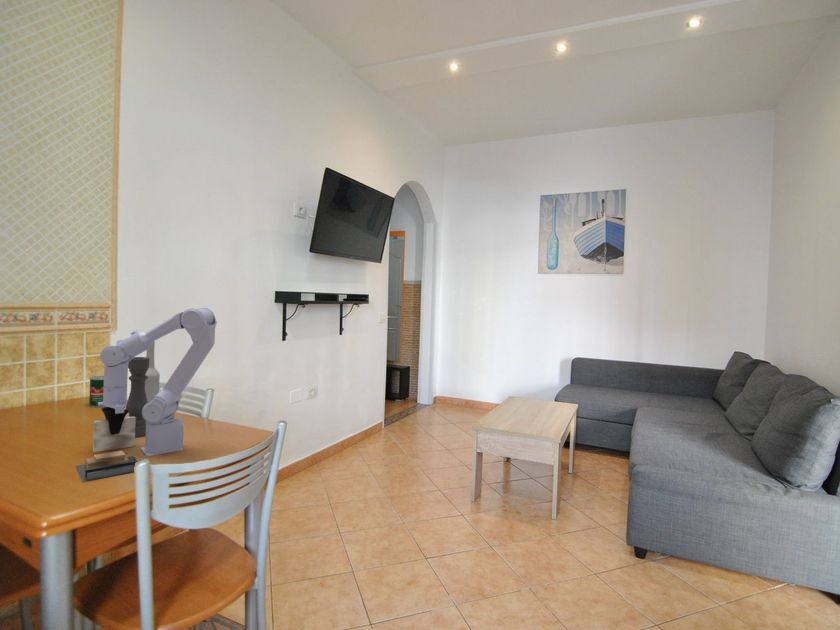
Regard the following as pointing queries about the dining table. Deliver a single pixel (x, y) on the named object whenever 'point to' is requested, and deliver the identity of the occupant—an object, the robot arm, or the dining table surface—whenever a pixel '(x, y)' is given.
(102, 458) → the offcut stack
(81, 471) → the rack
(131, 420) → the beige flat block
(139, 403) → the candle holder
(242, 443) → the dining table surface
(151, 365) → the bottle
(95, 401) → the canned tomato
